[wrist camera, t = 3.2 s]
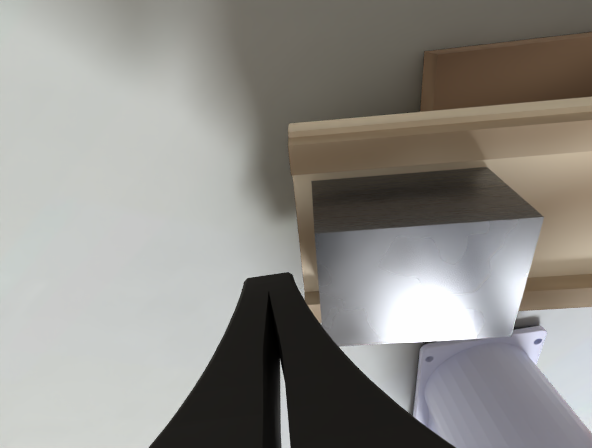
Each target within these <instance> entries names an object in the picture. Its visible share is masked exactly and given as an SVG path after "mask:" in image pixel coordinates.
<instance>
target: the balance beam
mask: <svg viewBox="0 0 592 448" xmlns="http://www.w3.org/2000/svg"><path fill="white" fill-rule="evenodd" d="M288 137H289V139H288V152H289V161H290V171H291V176H292V175H293V185H294V195H295V204H296V214H297V223H298V233H299V242H300V252H301V262H302V271H303V281H304V290H305V302H306V304H307V305H308V307H309V308H310V310H311V311H312V313H313V314H314V316H315V317H316V318H317V320H318V321H319V323H322V322H321V310H320V297H319V284H318V272H317V259H316V247H315V234H314V217H313V200H312V183H311V181H317V180H329V179H342V178H354V177H367V176H379V175H392V174H404V173H417V172H429V171H442V170H454V169H467V168H479V167H488V168H489V169H490V170H491V171H492V172H493V173H495V174H496V175H497V176H498V177H499V178H500V179H501V180H503V181H504V182H505V183H506V184H507V185H508V186H509V187H510V188H512V189H513V190H514V191H515V192H516V193H517V194H518V195H520V196H521V197H522V198H523V199H524V200H525V201H526V202H528V203H529V204H530V205H531V206H532V207H533V208H534V209H536V210H537V211H538V212H539V213H540V214H541V215H542V216H544V220H543V223H542V227H541V230H540V234H539V238H538V241H537V245H536V249H535V252H534V256H533V260H532V263H531V267H530V270H529V274H528V278H527V281H526V285H525V289H524V292H523V296H522V299H521V303H520V307H519V310H518V311H528V310H545V309H562V308H579V307H592V97H582V98H571V99H560V100H548V101H537V102H526V103H515V104H503V105H492V106H481V107H470V108H458V109H447V110H436V111H425V112H413V113H402V114H391V115H380V116H368V117H357V118H346V119H335V120H324V121H312V122H301V123H290V124H289V127H288Z"/></svg>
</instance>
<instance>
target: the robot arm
mask: <svg viewBox="0 0 592 448" xmlns="http://www.w3.org/2000/svg"><path fill="white" fill-rule="evenodd" d="M546 335H547V331H546V330H545V329H544V328H543V327H542V326H534V327H528V328H521V329H515V330H513V332H512V336H511V337H498V338H480V339H462V340H446V341H440V342H434V343H428V344H425V345H423V346H422V347H421V349H420V355H419V364H418V373H417V383H416V392H415V402H414V411H413V416H412V415H411V414H410V413H408V412H407V411H406V410H404V409H403V408H402V407H401V406H399V405H398V404H397V403H396V402H395V401H394V400H393V399H391V398H390V397H389V396H388V395H387V394H386V393H385V392H383V391H382V390H381V389H380V388H379V387H378V386H377V385H375V384H374V383H373V382H372V381H371V380H370V379H369V378H368V377H367V376H366V375H365V374H364V373H363V372H362V371H361V370H360V369H359V368H358V367H357V366H356V365H355V364H354V363H353V362H352V361H351V360H350V359H349V358H348V357H347V356H346V355H345V354H344V352H343V351H342V350H341V349H340V348H339V347H338V346H337V344H336V343H335V342H334V341H333V340H332V338H331V337H330V336H329V335H328V333H327V332H326V331H325V329H324V328H323V327H322V325H321V324H320V323H319V321H318V320H317V318H316V317H315V316H314V314H313V313H312V311H311V310H310V308H309V307H308V305H307V304H306V302H305V300H304V299H303V297H302V295H301V293H300V291H299V290H298V288H297V285H296V283H295V281H294V278H293V275H292V274H290V273H289V272H286V273H280V274H273V275H266V276H259V277H253V278H247V279H246V280H245V282H244V285H243V289H242V292H241V295H240V298H239V301H238V303H237V306H236V309H235V311H234V314H233V316H232V318H231V320H230V323H229V325H228V327H227V329H226V332H225V334H224V336H223V338H222V340H221V341H220V343H219V345H218V347H217V349H216V351H215V353H214V355H213V357H212V359H211V360H210V362H209V364H208V366H207V367H206V369H205V371H204V372H203V374H202V376H201V377H200V379H199V380H198V382H197V383H196V385H195V387H194V388H193V390H192V391H191V393H190V394H189V395H188V397H187V398H186V400H185V401H184V403H183V404H182V405H181V407H180V408H179V410H178V411H177V413H176V414H175V415H174V417H173V418H172V419H171V421H170V422H169V423H168V425H167V426H166V427H165V428H164V430H163V431H162V432H161V433H160V435H159V436H158V437H157V438H156V439H155V441H154V442H153V443H152V444H151V445H150V447H149V448H281V424H280V360H281V365H282V370H283V375H284V380H285V386H286V397H287V409H288V420H289V433H290V445H291V448H592V433H591V432H590V431H589V429H588V428H587V427H586V426H585V425H584V423H583V422H582V421H581V420H580V418H579V417H578V416H577V415H576V414H575V412H574V411H573V410H572V409H571V407H570V406H569V405H568V404H567V403H566V401H565V400H564V399H563V398H562V396H561V395H560V394H559V393H558V392H557V390H556V389H555V388H554V387H553V385H552V384H551V383H550V382H549V381H548V379H547V378H546V377H545V376H544V374H543V373H542V372H541V371H540V369H539V368H538V367H537V366H536V364H537V362H538V359H539V356H540V353H541V350H542V347H543V344H544V341H545V338H546Z"/></svg>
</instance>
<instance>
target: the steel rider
mask: <svg viewBox="0 0 592 448" xmlns="http://www.w3.org/2000/svg"><path fill="white" fill-rule="evenodd" d="M311 183H312V200H313V217H314V234H315V247H316V259H317V272H318V284H319V297H320V310H321V322H322V327H323V328H324V329H325V331H326V332H327V333H328V335H329V336H330V337H331V338H332V340H333V341H334V342H335V343H336V344H337V346H353V345H371V344H389V343H407V342H426V341H444V340H462V339H480V338H498V337H511V336H512V332H513V329H514V325H515V321H516V318H517V314H518V310H519V307H520V303H521V299H522V296H523V292H524V289H525V285H526V281H527V278H528V274H529V270H530V267H531V263H532V260H533V256H534V252H535V249H536V245H537V241H538V238H539V234H540V230H541V227H542V223H543V220H544V216H542V215H541V214H540V213H539V212H538V211H537V210H536V209H534V208H533V207H532V206H531V205H530V204H529V203H528V202H526V201H525V200H524V199H523V198H522V197H521V196H520V195H518V194H517V193H516V192H515V191H514V190H513V189H512V188H510V187H509V186H508V185H507V184H506V183H505V182H504V181H503V180H501V179H500V178H499V177H498V176H497V175H496V174H495V173H493V172H492V171H491V170H490V169H489V168H488V167H479V168H467V169H454V170H442V171H429V172H417V173H404V174H392V175H379V176H367V177H354V178H342V179H329V180H317V181H311Z"/></svg>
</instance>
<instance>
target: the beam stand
mask: <svg viewBox="0 0 592 448" xmlns="http://www.w3.org/2000/svg"><path fill="white" fill-rule="evenodd" d="M582 97H592V32H588V33H579V34H571V35H562V36H553V37H545V38H536V39H527V40H519V41H510V42H502V43H493V44H484V45H476V46H467V47H458V48H450V49H441V50H433V51H424V64H423V78H422V92H421V105H420V112H425V111H436V110H447V109H458V108H470V107H481V106H492V105H503V104H515V103H526V102H537V101H548V100H560V99H571V98H582Z"/></svg>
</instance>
